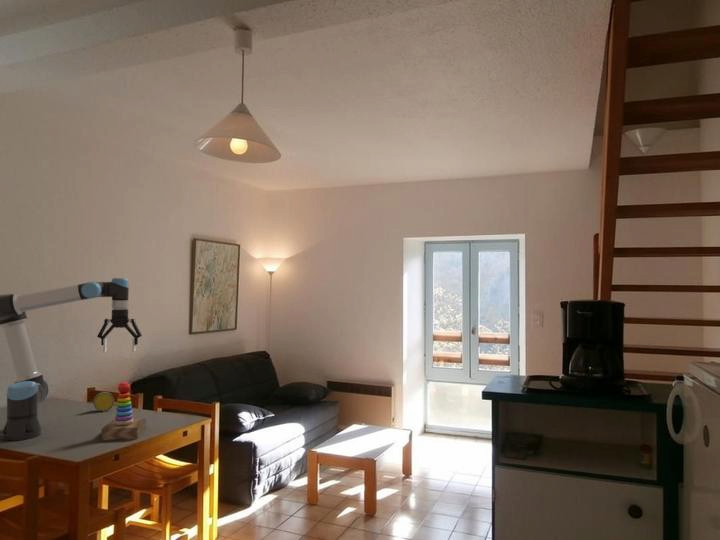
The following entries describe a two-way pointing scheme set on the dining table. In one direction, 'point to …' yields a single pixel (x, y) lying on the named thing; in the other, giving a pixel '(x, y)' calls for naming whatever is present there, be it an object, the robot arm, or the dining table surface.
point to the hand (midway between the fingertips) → (119, 351)
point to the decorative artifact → (103, 401)
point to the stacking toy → (124, 405)
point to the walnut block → (123, 430)
